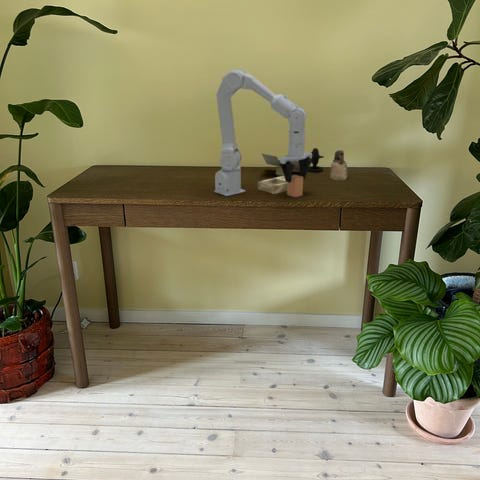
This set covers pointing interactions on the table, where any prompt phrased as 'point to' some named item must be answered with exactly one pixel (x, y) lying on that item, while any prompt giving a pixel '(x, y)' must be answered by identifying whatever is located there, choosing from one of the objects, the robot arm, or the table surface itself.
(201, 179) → the table surface
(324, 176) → the table surface
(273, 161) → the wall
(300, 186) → the block
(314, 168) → the webcam
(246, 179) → the table surface
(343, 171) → the figurine
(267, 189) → the beige piece
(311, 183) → the table surface
